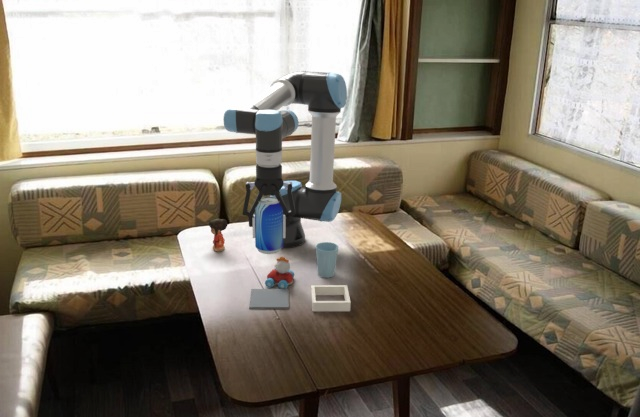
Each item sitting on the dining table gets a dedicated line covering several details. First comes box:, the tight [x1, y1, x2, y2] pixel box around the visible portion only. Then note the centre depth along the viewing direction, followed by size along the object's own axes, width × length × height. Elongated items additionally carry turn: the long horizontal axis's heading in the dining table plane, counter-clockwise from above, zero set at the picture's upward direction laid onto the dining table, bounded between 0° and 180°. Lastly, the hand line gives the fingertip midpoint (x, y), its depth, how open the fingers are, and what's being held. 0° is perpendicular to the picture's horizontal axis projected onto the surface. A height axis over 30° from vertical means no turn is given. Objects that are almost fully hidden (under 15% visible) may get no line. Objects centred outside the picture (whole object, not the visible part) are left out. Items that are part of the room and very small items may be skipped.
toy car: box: [264, 256, 295, 289], centre depth 204 cm, size 9×9×10 cm
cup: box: [315, 241, 339, 279], centre depth 211 cm, size 8×8×10 cm
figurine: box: [208, 218, 228, 253], centre depth 229 cm, size 6×6×12 cm
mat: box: [249, 288, 290, 310], centre depth 195 cm, size 12×12×1 cm
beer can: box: [254, 196, 283, 255], centre depth 186 cm, size 8×8×16 cm
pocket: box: [310, 284, 352, 312], centre depth 194 cm, size 12×12×3 cm
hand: (269, 236), depth 188 cm, fingers closed on beer can, 8 cm apart
